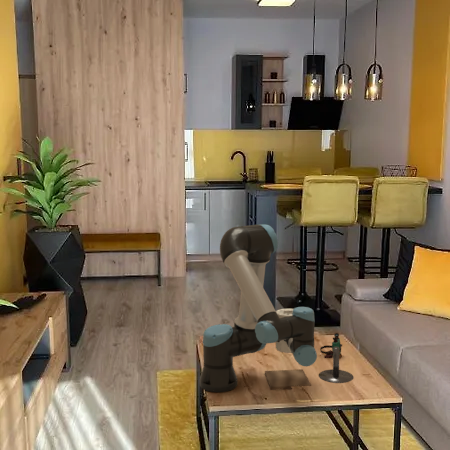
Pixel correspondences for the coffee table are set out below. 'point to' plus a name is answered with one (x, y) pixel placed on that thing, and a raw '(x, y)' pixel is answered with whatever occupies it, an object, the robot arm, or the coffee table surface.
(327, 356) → the binoculars
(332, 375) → the disc
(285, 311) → the towel roll
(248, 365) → the coffee table surface
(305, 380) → the cutting board
